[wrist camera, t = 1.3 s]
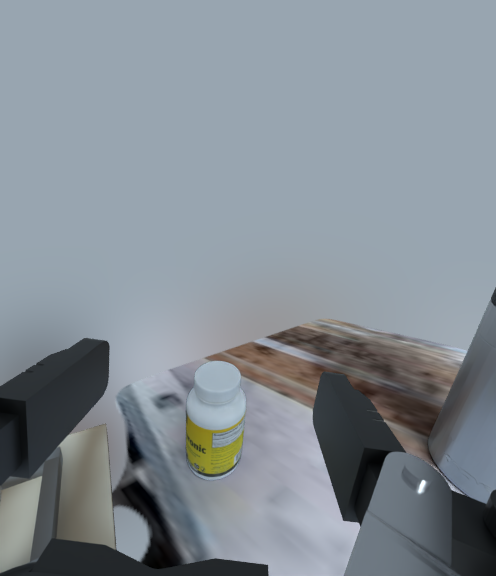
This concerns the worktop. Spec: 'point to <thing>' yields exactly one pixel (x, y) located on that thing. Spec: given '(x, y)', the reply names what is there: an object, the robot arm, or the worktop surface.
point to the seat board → (59, 500)
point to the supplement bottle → (215, 420)
